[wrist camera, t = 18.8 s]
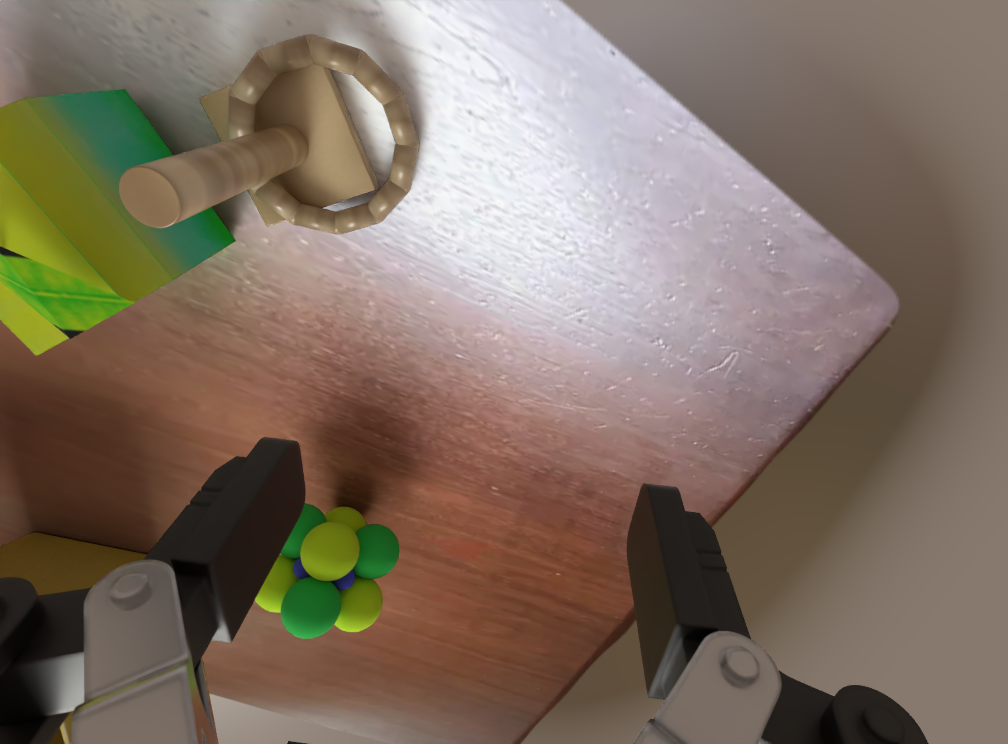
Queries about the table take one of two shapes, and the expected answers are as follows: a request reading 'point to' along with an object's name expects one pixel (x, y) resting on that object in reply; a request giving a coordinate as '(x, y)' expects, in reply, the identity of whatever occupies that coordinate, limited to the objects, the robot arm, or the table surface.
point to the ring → (374, 80)
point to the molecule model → (329, 573)
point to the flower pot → (60, 574)
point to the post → (260, 155)
